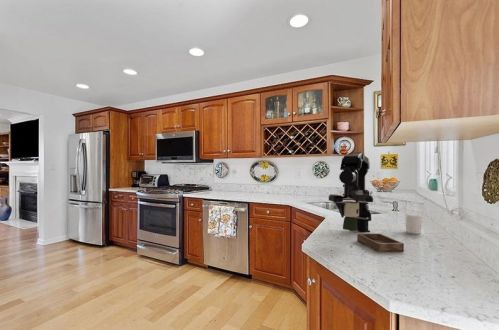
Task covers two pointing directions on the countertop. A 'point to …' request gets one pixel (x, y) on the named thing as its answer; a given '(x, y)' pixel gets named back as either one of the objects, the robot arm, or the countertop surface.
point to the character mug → (350, 215)
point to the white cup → (413, 223)
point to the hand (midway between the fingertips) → (350, 217)
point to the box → (380, 242)
